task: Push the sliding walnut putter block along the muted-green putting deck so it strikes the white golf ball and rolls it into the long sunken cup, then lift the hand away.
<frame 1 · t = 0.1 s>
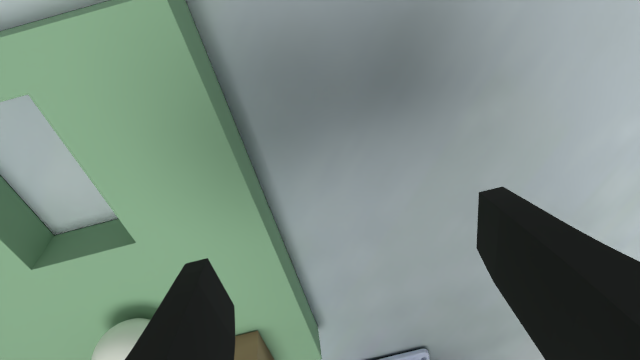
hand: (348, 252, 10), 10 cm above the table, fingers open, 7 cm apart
putting deck: (120, 248, 22), on the table
golf ball: (133, 357, 21), point 4 cm above the table, touching putting deck
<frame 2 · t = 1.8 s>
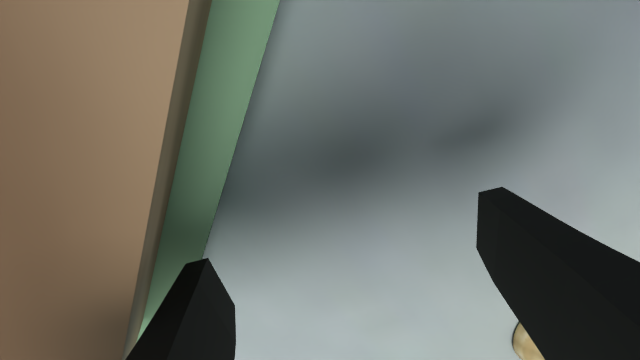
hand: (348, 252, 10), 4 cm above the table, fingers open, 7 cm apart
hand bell: (582, 316, 21), on the table
putter block: (54, 205, 8), point 4 cm above the table, slide at 0.3 cm
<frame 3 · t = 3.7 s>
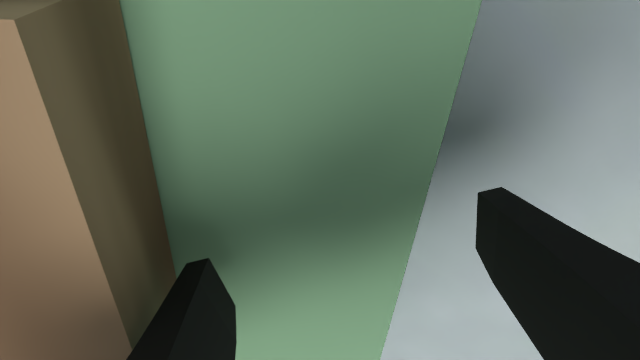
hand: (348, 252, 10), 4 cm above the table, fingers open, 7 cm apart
putter block: (58, 273, 9), point 4 cm above the table, slide at 6.5 cm, touching gripper
putting deck: (32, 171, 12), on the table
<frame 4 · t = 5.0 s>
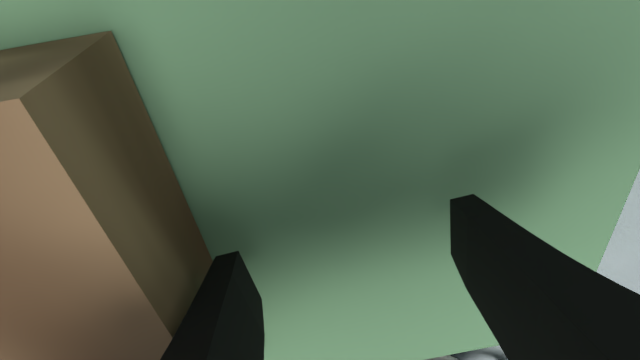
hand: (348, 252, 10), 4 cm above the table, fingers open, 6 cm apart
putter block: (117, 305, 10), point 4 cm above the table, slide at 12.3 cm, touching golf ball, gripper
putting deck: (251, 183, 13), on the table
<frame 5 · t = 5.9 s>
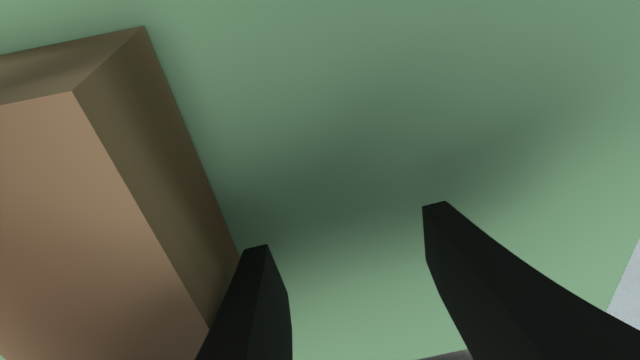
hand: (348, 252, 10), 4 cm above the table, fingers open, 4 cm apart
putter block: (150, 301, 10), point 4 cm above the table, slide at 12.6 cm, touching golf ball, gripper
putting deck: (281, 177, 13), on the table
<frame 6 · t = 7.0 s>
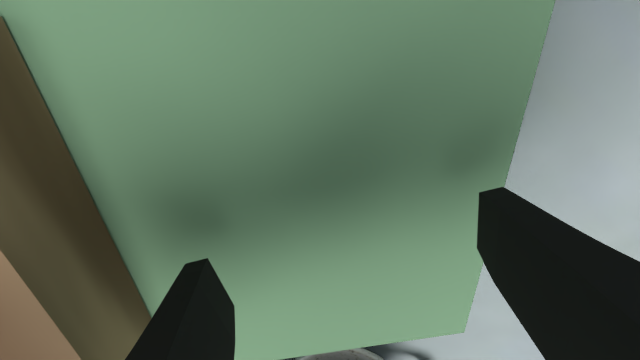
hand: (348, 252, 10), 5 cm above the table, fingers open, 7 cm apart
putter block: (4, 274, 10), point 4 cm above the table, slide at 12.1 cm, touching golf ball
putting deck: (159, 173, 14), on the table
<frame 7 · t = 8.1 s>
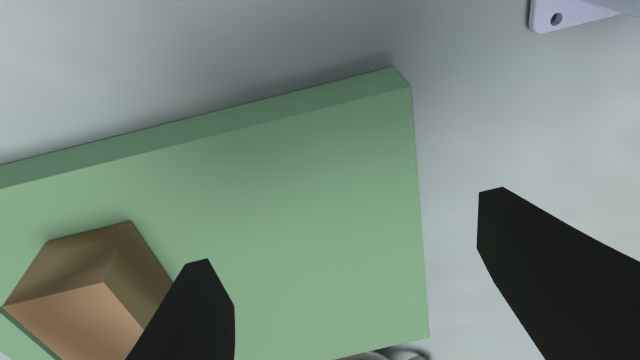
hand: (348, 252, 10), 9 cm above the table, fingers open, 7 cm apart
putter block: (141, 340, 19), point 4 cm above the table, slide at 12.1 cm, touching golf ball
putting deck: (211, 261, 23), on the table
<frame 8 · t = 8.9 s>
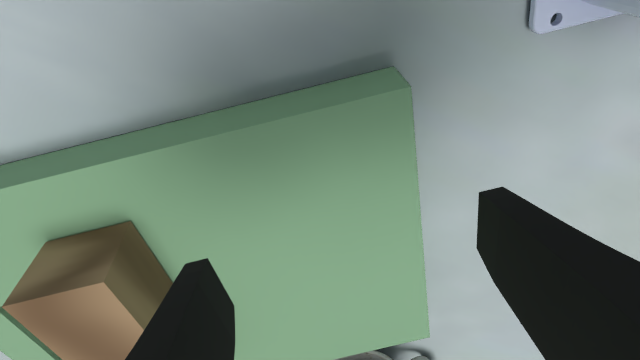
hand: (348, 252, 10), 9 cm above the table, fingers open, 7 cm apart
putter block: (141, 340, 19), point 4 cm above the table, slide at 12.1 cm, touching golf ball
putting deck: (211, 261, 23), on the table
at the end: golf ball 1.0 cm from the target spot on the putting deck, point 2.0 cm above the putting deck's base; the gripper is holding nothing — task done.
